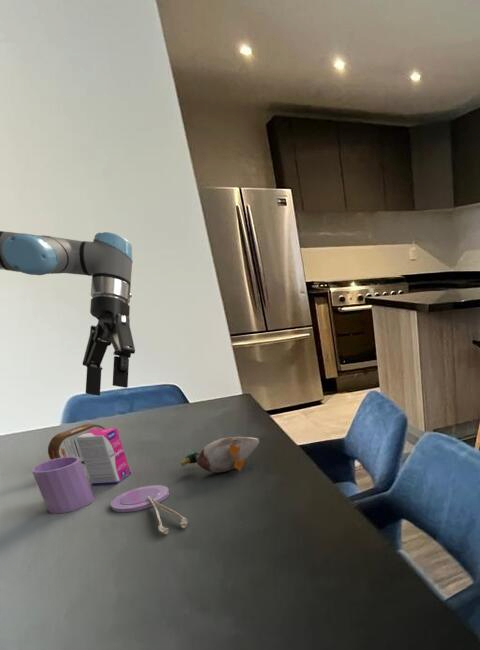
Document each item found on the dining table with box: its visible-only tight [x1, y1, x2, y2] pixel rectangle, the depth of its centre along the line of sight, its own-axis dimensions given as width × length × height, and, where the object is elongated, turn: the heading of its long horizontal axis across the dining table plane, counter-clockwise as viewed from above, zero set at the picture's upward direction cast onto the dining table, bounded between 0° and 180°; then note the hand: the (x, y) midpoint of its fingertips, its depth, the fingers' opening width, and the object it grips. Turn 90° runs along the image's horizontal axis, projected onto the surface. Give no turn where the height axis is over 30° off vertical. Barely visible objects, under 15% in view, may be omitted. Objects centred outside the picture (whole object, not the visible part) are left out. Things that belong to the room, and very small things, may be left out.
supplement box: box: [76, 427, 132, 487], centre depth 109 cm, size 6×6×12 cm
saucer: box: [110, 484, 170, 513], centre depth 100 cm, size 10×10×1 cm
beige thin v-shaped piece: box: [147, 496, 188, 535], centre depth 93 cm, size 17×5×2 cm, turn 43°
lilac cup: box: [30, 456, 95, 514], centre depth 99 cm, size 8×8×9 cm
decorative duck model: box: [180, 435, 260, 473], centre depth 113 cm, size 15×8×15 cm
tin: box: [47, 423, 106, 464], centre depth 123 cm, size 15×3×8 cm, turn 168°
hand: (106, 390), depth 113 cm, fingers open, 13 cm apart
